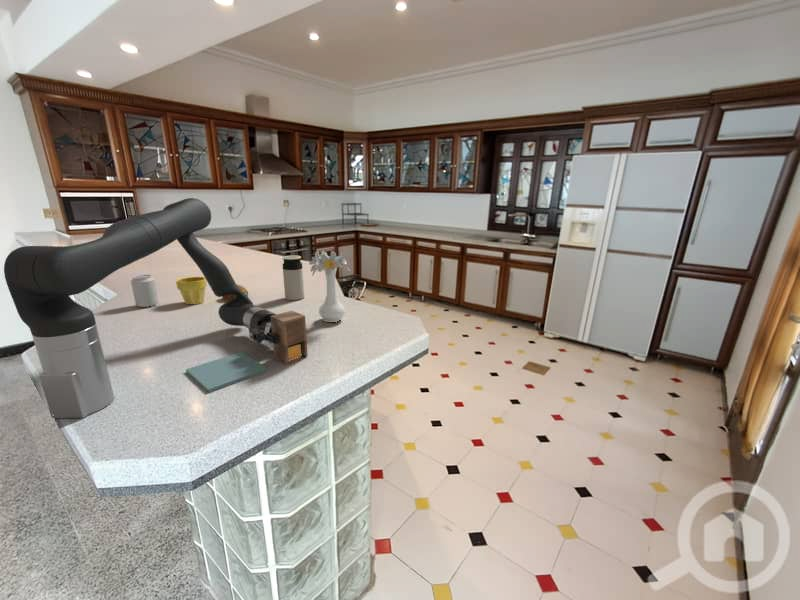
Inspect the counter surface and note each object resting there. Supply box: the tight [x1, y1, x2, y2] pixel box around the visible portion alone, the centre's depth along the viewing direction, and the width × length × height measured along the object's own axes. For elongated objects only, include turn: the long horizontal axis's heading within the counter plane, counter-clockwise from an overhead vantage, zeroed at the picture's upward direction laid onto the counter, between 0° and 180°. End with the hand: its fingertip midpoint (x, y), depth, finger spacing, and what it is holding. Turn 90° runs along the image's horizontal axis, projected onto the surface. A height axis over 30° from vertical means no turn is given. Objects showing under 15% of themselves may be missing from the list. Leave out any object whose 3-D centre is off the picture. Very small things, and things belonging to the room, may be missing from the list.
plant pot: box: [175, 276, 208, 305], centre depth 142 cm, size 10×10×10 cm
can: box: [130, 274, 160, 308], centre depth 137 cm, size 8×8×12 cm
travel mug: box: [282, 255, 305, 301], centre depth 149 cm, size 8×8×18 cm
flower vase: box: [308, 250, 351, 323], centre depth 122 cm, size 13×18×25 cm
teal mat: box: [185, 351, 268, 394], centre depth 88 cm, size 14×14×1 cm
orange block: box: [288, 343, 302, 361], centre depth 96 cm, size 4×4×4 cm
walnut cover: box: [271, 310, 309, 365], centre depth 95 cm, size 6×6×12 cm
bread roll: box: [221, 283, 249, 302], centre depth 149 cm, size 10×10×8 cm
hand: (291, 335), depth 94 cm, fingers open, 8 cm apart
